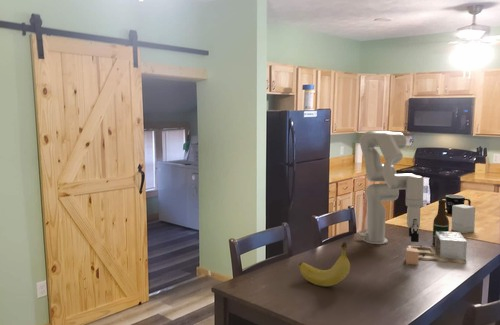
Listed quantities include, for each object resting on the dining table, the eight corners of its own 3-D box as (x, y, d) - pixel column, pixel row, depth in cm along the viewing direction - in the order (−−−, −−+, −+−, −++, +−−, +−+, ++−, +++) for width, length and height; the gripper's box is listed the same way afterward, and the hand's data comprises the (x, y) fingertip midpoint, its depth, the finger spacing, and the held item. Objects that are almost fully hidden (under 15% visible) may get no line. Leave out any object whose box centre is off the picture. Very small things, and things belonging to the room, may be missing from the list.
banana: (295, 280, 173) (295, 233, 171) (303, 276, 178) (303, 230, 175) (345, 295, 159) (345, 244, 156) (352, 290, 163) (353, 240, 161)
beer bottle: (450, 246, 216) (452, 201, 214) (434, 246, 218) (435, 201, 215) (446, 242, 224) (448, 198, 221) (430, 241, 225) (432, 198, 223)
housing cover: (440, 257, 196) (441, 239, 195) (435, 247, 211) (435, 230, 210) (465, 260, 193) (466, 241, 192) (459, 249, 208) (459, 232, 207)
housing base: (410, 258, 199) (411, 253, 199) (407, 247, 216) (407, 242, 216) (466, 263, 192) (466, 257, 192) (458, 251, 209) (458, 246, 209)
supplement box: (474, 231, 244) (476, 206, 243) (463, 233, 241) (464, 208, 239) (461, 228, 253) (463, 203, 251) (450, 229, 249) (452, 205, 248)
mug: (436, 211, 298) (437, 194, 296) (454, 209, 302) (455, 193, 301) (454, 216, 282) (454, 199, 281) (472, 214, 287) (473, 197, 286)
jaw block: (406, 263, 192) (407, 251, 192) (405, 260, 197) (406, 247, 196) (418, 264, 191) (418, 252, 190) (417, 261, 196) (417, 248, 195)
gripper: (404, 199, 200) (403, 233, 202) (407, 205, 184) (406, 243, 185) (420, 199, 198) (420, 234, 199) (425, 206, 182) (424, 244, 183)
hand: (413, 239), depth 192 cm, fingers open, 9 cm apart
